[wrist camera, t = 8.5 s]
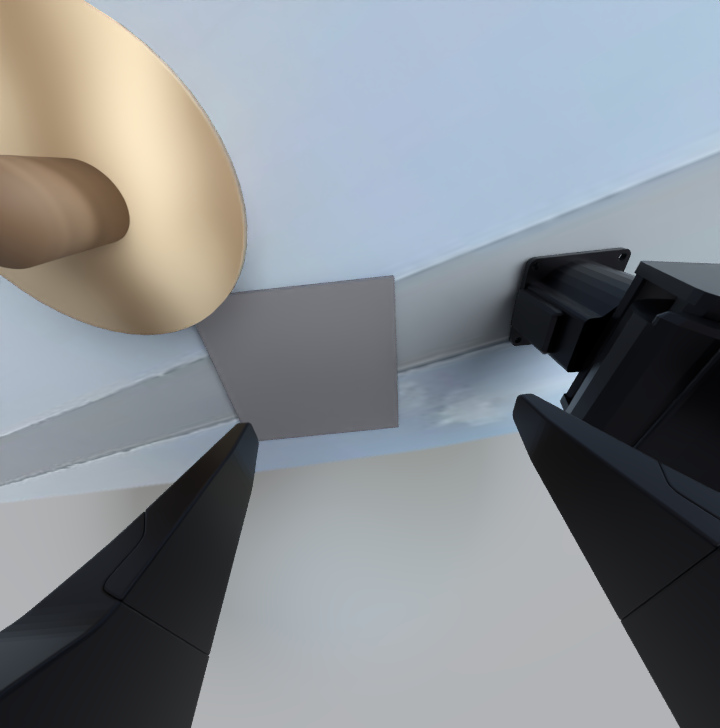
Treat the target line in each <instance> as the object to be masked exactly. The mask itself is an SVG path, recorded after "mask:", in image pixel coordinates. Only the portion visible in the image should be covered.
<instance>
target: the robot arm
mask: <svg viewBox="0 0 720 728" xmlns="http://www.w3.org/2000/svg"><path fill="white" fill-rule="evenodd" d="M621 254H622V255H621ZM620 255H621V257H620V258H619V259H618V257H619V256H620ZM630 255H631V252H630V250H629V249H625V248H613V249H604V250H595V251H586V252H576V253H567V254H558V255H549V256H540V257H534V258H531V259H530V260H529V261H528V262H527V264H526V266H525V271H524V275H523V279H522V284H521V288H520V291H519V292H518V294H517V299H516V303H515V308H514V312H513V316H512V321H511V325H512V328H511V332H510V337H509V341H510V343H511V344H512V345H514V346H520V345H530V344H533V345H534V346H535V347H536V348H537V349H538V350H539V351H540V352H541V353H542V354H548V355H549V356H551V357H552V358H553V359H554V360H555V361H556V362H557V363H558V364H559V365H561V366H562V367H563V368H564V369H565V370H566V371H567V372H579V373H578V375H577V376H576V378H575V380H574V382H573V383H572V385H571V387H570V388H569V390H568V392H567V393H565V394H564V395H563V397H562V398H561V400H560V402H561V405H562V407H563V410H562V409H560V408H558V407H556V406H554V405H552V404H551V403H549V402H547V401H545V400H543V399H541V398H539V397H537V396H536V395H534V394H521V395H519V396H518V397H517V399H516V403H515V406H514V410H513V419H514V422H515V424H516V426H517V429H518V431H519V434H520V436H521V438H522V441H523V443H524V445H525V448H526V450H527V452H528V455H529V457H530V459H531V461H532V463H533V465H534V467H535V468H536V470H537V472H538V474H539V476H540V477H541V479H542V481H543V483H544V485H545V486H546V488H547V490H548V492H549V493H550V495H551V497H552V499H553V501H554V503H555V504H556V506H557V508H558V510H559V511H560V513H561V515H562V517H563V519H564V520H565V522H566V524H567V526H568V528H569V529H570V531H571V533H572V535H573V536H574V538H575V540H576V542H577V544H578V546H579V547H580V549H581V551H582V553H583V554H584V556H585V558H586V560H587V561H588V563H589V565H590V567H591V569H592V570H593V572H594V574H595V576H596V578H597V580H598V581H599V583H600V585H601V587H602V588H603V590H604V592H605V594H606V596H607V597H608V599H609V601H610V603H611V605H612V606H613V608H614V610H615V612H616V613H617V615H618V617H619V619H620V620H621V623H622V624H623V626H624V628H625V630H626V632H627V634H628V635H629V637H630V639H631V641H632V643H633V644H634V646H635V648H636V649H637V651H638V653H639V655H640V657H641V658H642V660H643V662H644V664H645V666H646V668H647V669H648V671H649V673H650V675H651V676H652V678H653V680H654V682H655V683H656V685H657V687H658V689H659V691H660V692H661V694H662V696H663V698H664V700H665V702H666V703H667V705H668V707H669V709H670V710H671V712H672V714H673V716H674V717H675V719H676V721H677V723H678V725H679V726H680V728H720V264H710V263H684V262H659V261H641V262H640V264H639V266H638V267H637V269H636V271H635V273H636V276H634V275H631V274H628V273H625V272H624V270H625V267H626V265H627V263H628V260H629V258H630ZM535 263H537V266H536V267H535V268H533V265H534V264H535ZM518 337H519V338H518ZM516 338H518V339H517V340H515V339H516ZM258 445H259V442H258V437H257V435H256V433H255V431H254V428H253V426H252V424H251V423H250V422H245V423H238V424H236V425H235V426H234V427H233V428H232V429H231V430H230V431H229V432H228V433H227V434H226V435H225V436H223V437H222V438H221V439H220V440H219V441H218V442H217V443H216V444H215V445H214V446H213V447H212V448H211V449H210V450H209V451H208V452H206V453H205V454H204V455H203V456H202V457H201V458H200V459H199V460H198V461H197V462H196V463H195V464H194V465H193V466H192V467H191V468H190V469H188V470H187V471H186V472H185V473H184V474H183V475H182V476H181V477H180V478H179V479H178V480H177V481H176V482H175V483H174V484H173V485H171V487H169V488H168V489H167V490H166V491H165V492H164V493H163V494H162V495H161V496H160V497H159V498H158V499H157V500H156V501H155V502H154V503H152V504H151V505H150V506H149V507H148V508H147V509H146V512H143V513H142V514H141V515H140V516H138V517H137V518H136V519H135V520H134V521H133V522H132V523H131V524H130V525H129V526H128V527H127V528H126V529H125V530H123V532H121V533H120V534H119V535H118V536H117V537H116V538H115V539H114V540H112V541H111V542H110V543H109V544H108V545H107V546H106V547H104V548H103V549H102V550H101V551H100V552H99V553H97V554H96V555H95V556H94V557H93V558H92V559H90V560H89V561H88V562H87V563H86V564H85V565H83V566H82V567H81V568H80V569H79V570H77V571H76V572H75V573H74V574H73V575H72V576H70V577H69V578H68V579H67V580H66V581H64V582H63V583H62V584H61V585H60V586H58V588H56V589H55V590H54V591H53V592H51V593H50V594H49V595H48V596H47V597H45V598H44V599H43V600H42V601H41V602H40V603H38V604H37V605H36V606H35V607H33V608H32V609H31V610H30V611H29V612H27V613H26V614H25V615H24V616H22V617H21V618H20V619H18V620H17V621H16V622H14V623H13V624H12V625H10V626H8V627H7V628H5V629H4V630H2V631H1V632H0V728H191V725H192V721H193V717H194V713H195V709H196V706H197V701H198V698H199V694H200V690H201V686H202V682H203V678H204V675H205V671H206V667H207V663H208V659H209V656H208V655H209V654H210V651H211V647H212V643H213V639H214V635H215V631H216V627H217V623H218V619H219V615H220V612H221V608H222V604H223V600H224V596H225V592H226V588H227V585H228V580H229V577H230V573H231V569H232V565H233V561H234V557H235V553H236V549H237V546H238V542H239V538H240V533H241V530H242V526H243V522H244V518H245V515H246V511H247V507H248V503H249V499H250V495H251V491H252V486H253V480H254V473H255V466H256V459H257V452H258Z"/></svg>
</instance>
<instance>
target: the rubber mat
mask: <svg viewBox="0 0 720 728" xmlns="http://www.w3.org/2000/svg"><path fill="white" fill-rule="evenodd" d="M195 326H196V328H197V330H198V332H199V334H200V336H201V338H202V340H203V343H204V345H205V347H206V349H207V351H208V353H209V355H210V358H211V360H212V362H213V364H214V366H215V368H216V370H217V373H218V375H219V377H220V379H221V381H222V383H223V385H224V387H225V390H226V392H227V394H228V396H229V398H230V400H231V402H232V405H233V407H234V409H235V411H236V413H237V415H238V417H239V419H240V422H241V423H245V422H250V423H251V424H252V426H253V428H254V431H255V433H256V435H257V437H258V441H263V440H273V439H284V438H294V437H304V436H314V435H324V434H334V433H344V432H354V431H365V430H375V429H385V428H395V427H398V392H397V357H396V322H395V286H394V276H393V275H392V276H383V277H374V278H365V279H356V280H346V281H337V282H328V283H319V284H310V285H301V286H292V287H282V288H273V289H264V290H255V291H246V292H237V293H230V294H229V295H228V297H227V298H226V299H225V300H224V301H223V302H222V304H221V305H220V306H219V307H218V308H217V309H216V310H215V311H214V312H213V313H212V314H210V315H209V316H208V317H206V318H205V319H203V320H202V321H200V322H198V323H196V324H195Z"/></svg>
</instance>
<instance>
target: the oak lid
mask: <svg viewBox="0 0 720 728" xmlns="http://www.w3.org/2000/svg"><path fill="white" fill-rule="evenodd" d="M246 247H247V220H246V211H245V204H244V200H243V196H242V191H241V187H240V183H239V181H238V178H237V175H236V172H235V169H234V166H233V163H232V161H231V159H230V156H229V154H228V152H227V150H226V148H225V146H224V143H223V141H222V139H221V137H220V136H219V134H218V132H217V130H216V129H215V127H214V125H213V124H212V122H211V120H210V118H209V117H208V115H207V114H206V112H205V111H204V109H203V108H202V107H201V105H200V104H199V102H198V101H197V99H196V98H195V97H194V95H193V94H192V92H191V91H190V90H189V89H188V88H187V86H186V85H185V84H184V83H183V82H182V81H181V79H180V78H179V77H178V76H177V75H176V74H175V72H174V71H173V70H172V69H171V68H170V67H169V66H168V65H167V64H166V63H165V62H164V61H163V60H162V59H161V58H160V57H159V56H158V55H157V54H156V53H155V52H154V51H153V50H152V49H151V48H150V47H149V46H148V45H146V44H145V43H144V42H143V41H141V40H140V39H139V38H138V37H136V36H135V35H134V34H133V33H131V32H130V31H129V30H128V29H126V28H125V27H124V26H122V25H121V24H120V23H118V22H117V21H115V20H113V19H112V18H110V17H109V16H107V15H106V14H104V13H103V12H101V11H100V10H98V9H96V8H95V7H93V6H92V5H90V4H89V3H87V2H85V1H84V0H0V274H1V275H2V276H3V277H4V278H6V279H7V280H8V281H10V282H11V283H13V284H14V285H15V286H17V287H18V288H19V289H21V290H22V291H24V292H25V293H27V294H29V295H30V296H32V297H33V298H35V299H37V300H38V301H40V302H41V303H43V304H45V305H47V306H49V307H51V308H53V309H55V310H56V311H58V312H60V313H63V314H65V315H67V316H69V317H72V318H74V319H76V320H78V321H81V322H84V323H87V324H90V325H93V326H96V327H99V328H103V329H107V330H111V331H115V332H121V333H128V334H140V335H154V334H165V333H171V332H176V331H179V330H182V329H185V328H188V327H190V326H192V325H194V324H196V323H198V322H200V321H202V320H203V319H205V318H206V317H208V316H209V315H210V314H212V313H213V312H214V311H215V310H216V309H217V308H218V307H219V306H220V305H221V304H222V302H223V301H224V300H225V299H226V298H227V297H228V295H229V294H230V293H231V291H232V290H233V288H234V287H235V285H236V283H237V280H238V278H239V276H240V274H241V271H242V267H243V264H244V261H245V254H246Z"/></svg>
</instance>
